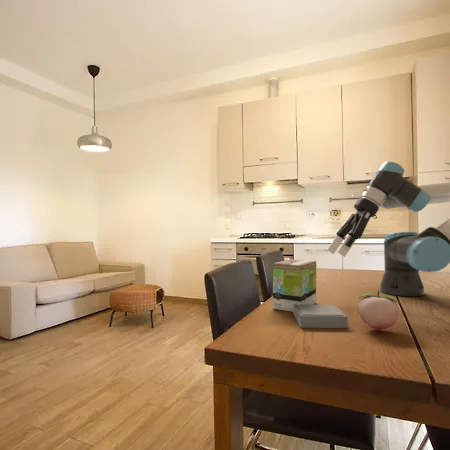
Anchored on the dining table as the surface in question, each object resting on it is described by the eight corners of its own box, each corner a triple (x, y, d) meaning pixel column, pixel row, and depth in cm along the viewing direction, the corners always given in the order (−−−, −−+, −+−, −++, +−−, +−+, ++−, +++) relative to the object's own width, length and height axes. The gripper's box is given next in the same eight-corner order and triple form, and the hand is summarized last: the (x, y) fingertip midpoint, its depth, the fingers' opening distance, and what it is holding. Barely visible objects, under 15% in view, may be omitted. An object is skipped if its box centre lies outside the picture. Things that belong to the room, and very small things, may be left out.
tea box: (302, 313, 95) (302, 264, 95) (271, 309, 100) (271, 262, 100) (317, 303, 108) (316, 259, 108) (288, 299, 113) (288, 258, 113)
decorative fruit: (360, 335, 77) (360, 293, 76) (356, 324, 84) (356, 287, 84) (404, 338, 74) (403, 295, 74) (396, 327, 82) (395, 288, 82)
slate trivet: (334, 314, 94) (334, 304, 94) (347, 328, 82) (347, 315, 82) (293, 314, 94) (293, 303, 94) (300, 327, 82) (300, 315, 82)
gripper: (349, 200, 123) (318, 245, 123) (374, 191, 98) (335, 248, 99) (365, 211, 122) (334, 256, 123) (395, 205, 97) (356, 262, 98)
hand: (335, 253), depth 111 cm, fingers open, 13 cm apart
